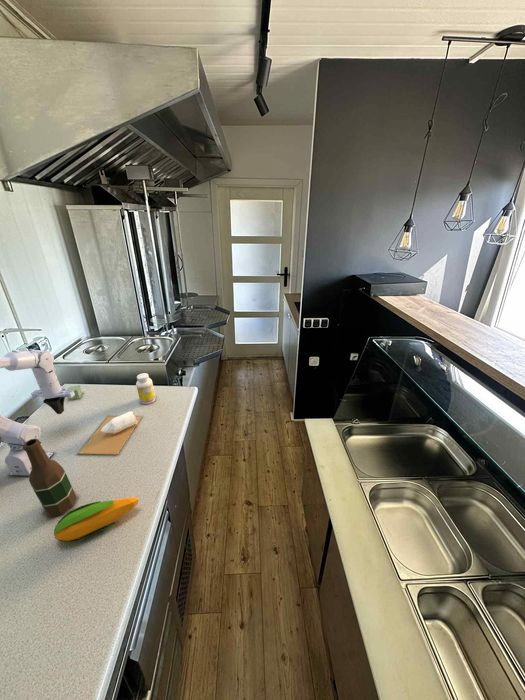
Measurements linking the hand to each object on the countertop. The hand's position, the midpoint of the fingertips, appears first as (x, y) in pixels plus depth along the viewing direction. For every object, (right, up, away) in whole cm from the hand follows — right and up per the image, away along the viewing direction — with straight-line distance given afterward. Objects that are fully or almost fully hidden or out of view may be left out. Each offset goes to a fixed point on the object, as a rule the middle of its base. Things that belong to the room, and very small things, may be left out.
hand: (60, 412), depth 107 cm
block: (-11, +2, +25) cm, 28 cm away
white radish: (+20, -8, +4) cm, 22 cm away
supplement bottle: (+24, +1, +22) cm, 33 cm away
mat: (+18, -9, +2) cm, 20 cm away
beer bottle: (+17, -22, -24) cm, 36 cm away
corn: (+32, -24, -29) cm, 49 cm away
